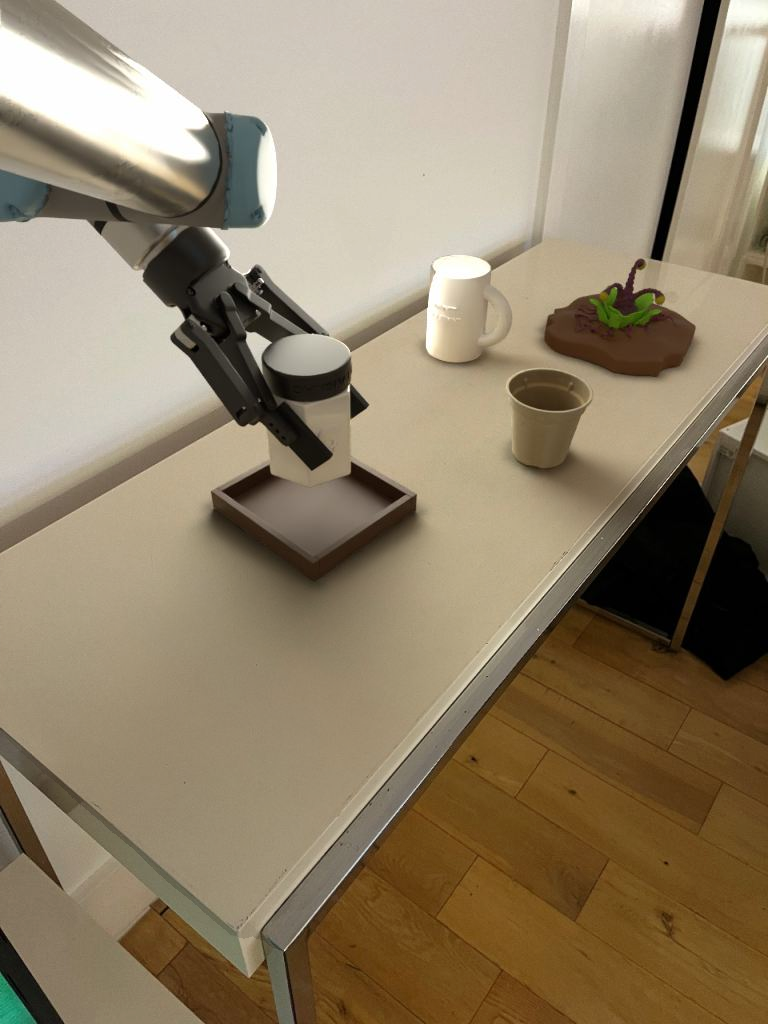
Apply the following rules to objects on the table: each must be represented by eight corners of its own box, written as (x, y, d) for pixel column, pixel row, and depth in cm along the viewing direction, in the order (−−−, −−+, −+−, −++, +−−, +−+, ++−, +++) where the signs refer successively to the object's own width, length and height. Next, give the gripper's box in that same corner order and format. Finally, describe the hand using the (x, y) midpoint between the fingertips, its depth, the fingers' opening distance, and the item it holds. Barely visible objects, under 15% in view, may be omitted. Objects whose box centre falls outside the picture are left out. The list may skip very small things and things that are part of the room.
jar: (289, 498, 73) (281, 387, 65) (253, 454, 78) (242, 347, 71) (371, 469, 77) (372, 361, 69) (331, 429, 82) (328, 324, 74)
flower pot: (481, 455, 90) (488, 390, 84) (525, 421, 95) (535, 358, 90) (551, 488, 85) (564, 422, 79) (594, 451, 91) (609, 387, 85)
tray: (314, 581, 74) (313, 564, 72) (213, 508, 82) (210, 490, 80) (416, 511, 82) (417, 493, 80) (315, 450, 90) (314, 434, 88)
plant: (712, 336, 113) (735, 261, 106) (655, 388, 102) (677, 308, 94) (589, 297, 123) (602, 226, 116) (524, 341, 111) (535, 265, 104)
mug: (492, 377, 103) (503, 291, 96) (414, 353, 108) (418, 270, 100) (517, 352, 109) (529, 269, 101) (442, 330, 113) (448, 250, 106)
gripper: (208, 232, 78) (357, 400, 84) (75, 320, 63) (268, 517, 69) (250, 184, 73) (405, 366, 80) (117, 267, 58) (321, 484, 64)
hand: (341, 436), depth 74 cm, fingers closed on jar, 8 cm apart
